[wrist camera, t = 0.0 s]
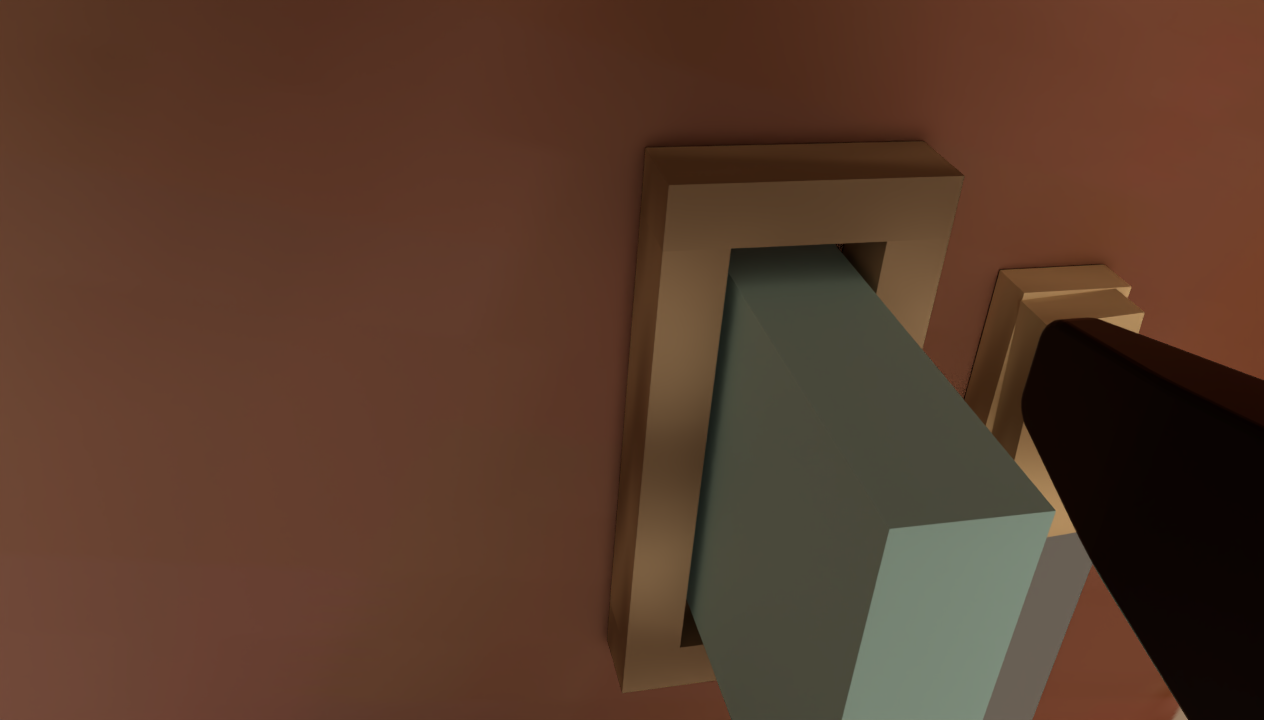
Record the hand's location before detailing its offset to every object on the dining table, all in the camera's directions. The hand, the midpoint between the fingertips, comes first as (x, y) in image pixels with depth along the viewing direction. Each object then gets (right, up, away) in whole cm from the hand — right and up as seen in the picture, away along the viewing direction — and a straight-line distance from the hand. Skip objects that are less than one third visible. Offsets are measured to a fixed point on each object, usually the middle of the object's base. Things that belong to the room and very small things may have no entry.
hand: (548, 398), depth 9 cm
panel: (+4, -1, +20) cm, 20 cm away
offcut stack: (+11, -1, +22) cm, 24 cm away
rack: (+4, -1, +20) cm, 20 cm away
